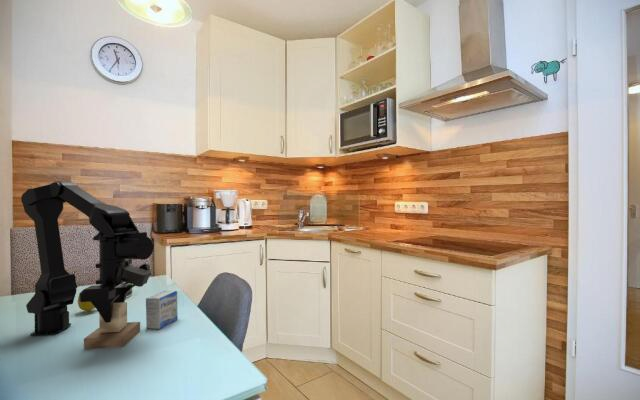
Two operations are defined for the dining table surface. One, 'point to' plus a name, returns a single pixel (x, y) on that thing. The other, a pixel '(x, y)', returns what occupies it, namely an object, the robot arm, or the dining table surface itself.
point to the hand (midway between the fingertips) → (113, 318)
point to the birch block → (115, 319)
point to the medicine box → (161, 309)
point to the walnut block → (112, 337)
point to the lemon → (85, 306)
